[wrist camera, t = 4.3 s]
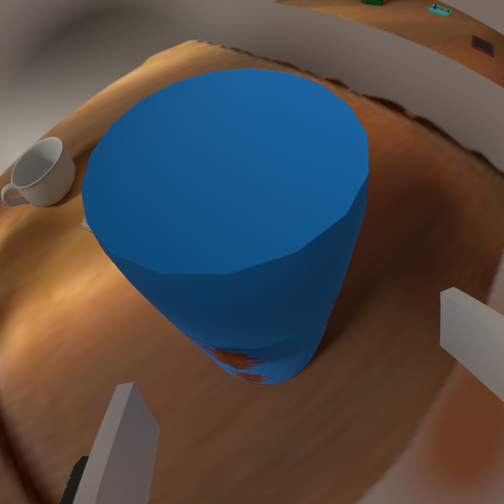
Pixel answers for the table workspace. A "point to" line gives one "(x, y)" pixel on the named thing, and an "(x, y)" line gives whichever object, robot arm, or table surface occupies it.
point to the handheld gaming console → (440, 10)
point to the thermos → (235, 211)
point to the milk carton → (372, 2)
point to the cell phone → (482, 45)
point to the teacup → (41, 174)
